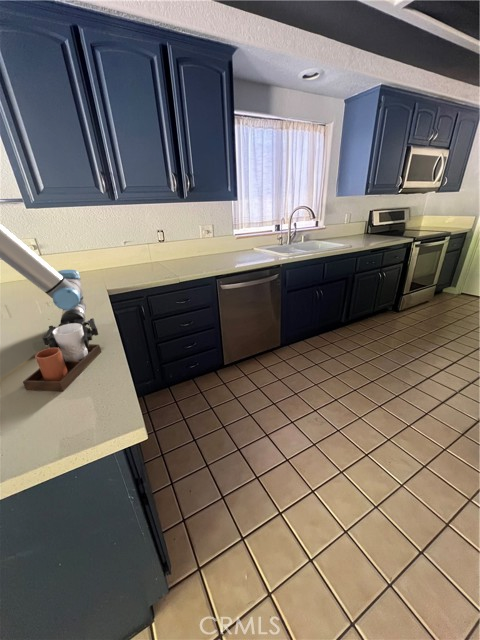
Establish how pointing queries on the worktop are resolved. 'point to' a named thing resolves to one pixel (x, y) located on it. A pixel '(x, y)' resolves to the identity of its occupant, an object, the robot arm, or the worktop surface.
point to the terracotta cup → (51, 364)
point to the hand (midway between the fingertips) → (70, 347)
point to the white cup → (71, 341)
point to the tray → (74, 370)
